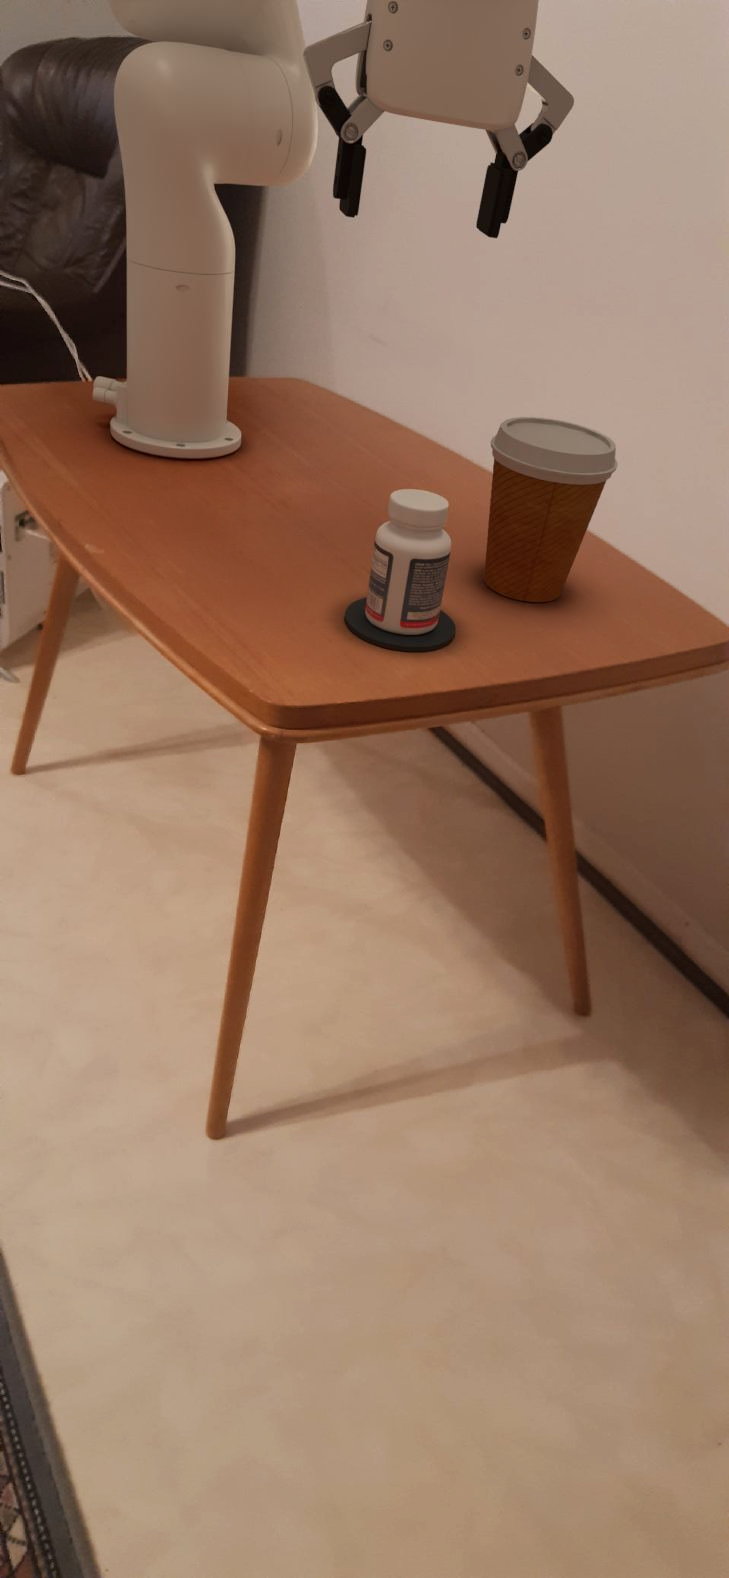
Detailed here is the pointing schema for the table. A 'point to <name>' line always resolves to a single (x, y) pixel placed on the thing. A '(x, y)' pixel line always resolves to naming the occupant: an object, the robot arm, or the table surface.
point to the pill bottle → (409, 564)
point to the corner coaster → (394, 641)
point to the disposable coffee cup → (542, 503)
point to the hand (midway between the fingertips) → (418, 224)
